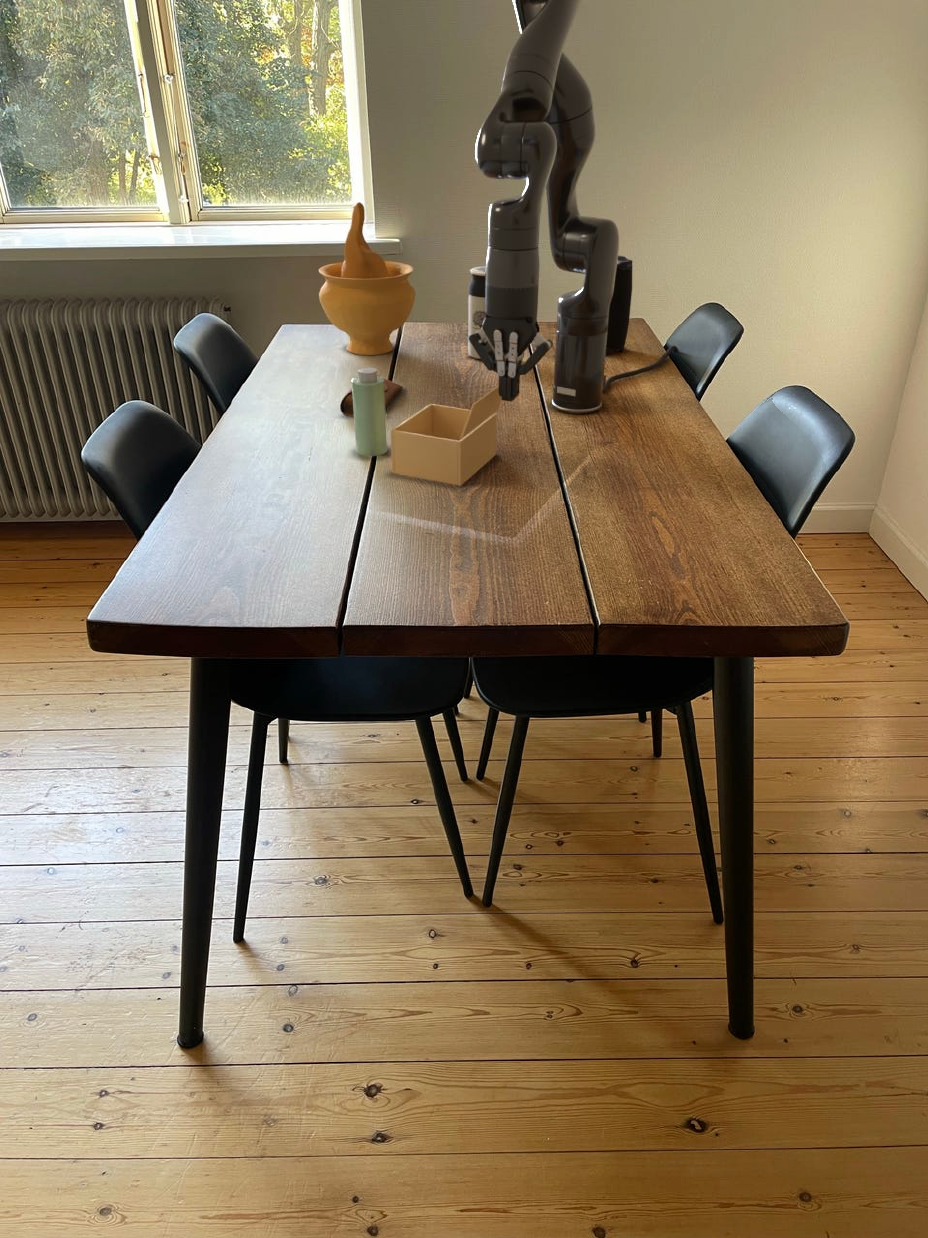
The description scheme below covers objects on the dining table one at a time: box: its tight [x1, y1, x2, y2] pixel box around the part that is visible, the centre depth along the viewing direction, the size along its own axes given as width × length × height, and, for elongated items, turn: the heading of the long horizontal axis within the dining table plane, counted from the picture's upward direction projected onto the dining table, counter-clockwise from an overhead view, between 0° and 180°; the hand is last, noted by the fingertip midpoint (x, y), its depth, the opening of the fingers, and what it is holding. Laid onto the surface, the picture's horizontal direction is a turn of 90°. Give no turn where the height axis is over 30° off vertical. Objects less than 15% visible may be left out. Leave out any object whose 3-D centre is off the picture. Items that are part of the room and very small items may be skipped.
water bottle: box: [351, 367, 388, 457], centre depth 151 cm, size 5×5×14 cm
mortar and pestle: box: [318, 201, 417, 356], centre depth 200 cm, size 21×21×30 cm
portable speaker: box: [605, 255, 634, 356], centre depth 202 cm, size 9×9×20 cm
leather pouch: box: [339, 374, 404, 418], centre depth 176 cm, size 18×7×7 cm, turn 172°
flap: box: [460, 384, 503, 438], centre depth 142 cm, size 14×6×1 cm
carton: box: [390, 403, 498, 487], centre depth 148 cm, size 14×12×8 cm
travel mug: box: [467, 266, 495, 360], centre depth 199 cm, size 8×8×18 cm
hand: (508, 399), depth 139 cm, fingers closed
